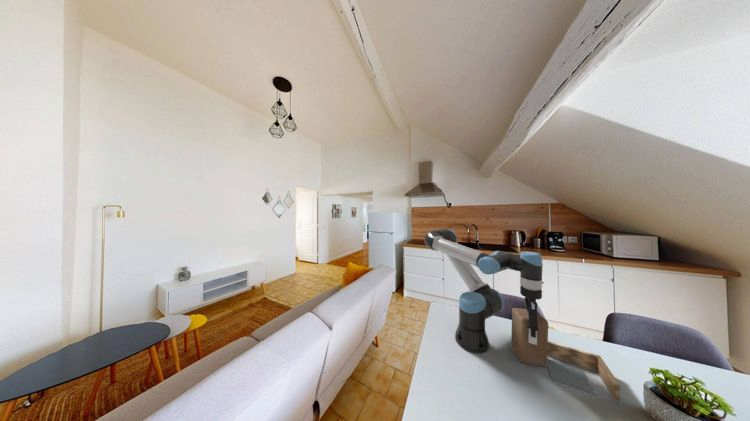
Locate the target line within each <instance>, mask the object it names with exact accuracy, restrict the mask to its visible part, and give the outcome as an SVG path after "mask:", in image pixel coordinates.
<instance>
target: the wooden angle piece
mask: <svg viewBox="0 0 750 421" xmlns="http://www.w3.org/2000/svg"><path fill="white" fill-rule="evenodd" d="M547 357H552V358H555V359H558V360H561V361H565V362H568V363H570V364H573V365H578V366H580V367H583V368H587V369H590V370H593V371H596V373H597V374H598V375H599V377H600V378H601V380H602V382H603V384H604V386H605V388H606V389H607V390H608V392H609V394H610V396H611V397H612V399H613V400H614V401H617V402H620V393H621V392H620V391H621V390H620V388H621V384H620V383H619V382H618V380H617V379H616V377H615V376H614V374H613V373H612V371H611V369H609V367H608V366H607V364H606V362H605V361H604V359H603V358H602V357H601V355H598V354H595V353H591V352H587V351H585V350H580V349H577V348H573V347H569V346H566V345H563V344H559V343H556V342H552V341H549V340H548V349H547Z"/></svg>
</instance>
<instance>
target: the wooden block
mask: <svg viewBox="0 0 750 421" xmlns="http://www.w3.org/2000/svg"><path fill="white" fill-rule="evenodd" d="M537 319H538V331H537V345H535V344H531V343H529V342H528V338H529V328H527V326H529V315H528V311H527V309H525V308H520V307H513V308H511V337H510V338H511V341H510V343H511V345H510V346H511V347H510V348H511V349H512V351H513V353H514V354H515V355H516V356H517V358H518V359H519V362H521V363H522V364H525V365H531V366H532V365H533V366H538V367H547V359H548V355H547V349H548V341H549V322H548V320H547V319H546V318H544V317H543V316H542V315H541V314H540V313H539V312H538V311H537Z"/></svg>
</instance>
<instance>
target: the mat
mask: <svg viewBox="0 0 750 421" xmlns="http://www.w3.org/2000/svg"><path fill="white" fill-rule="evenodd" d="M546 367H547V369H548V373H549V377H550V380H553V381H556V382H558V383H560V384H561V383H562V384H564V385H567V386H570V387H572V388H575V389H578V390H581V391H584V392H586V393H588V394H593V395H594V396H596V393H595V391H594V388H593V386H592V385H591V383H590V381H589V379H588V377H587V375H586V374H585V371H584V369H581V368H578V367H574V366H571V365H569V364H566V363H562V362H559V361H557V360H553V359H549V358H547V366H546Z"/></svg>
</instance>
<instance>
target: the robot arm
mask: <svg viewBox="0 0 750 421" xmlns="http://www.w3.org/2000/svg"><path fill="white" fill-rule="evenodd" d="M423 241H424V244H425V246H426V247H427V248H428V249H430V250H432V251H434V252H437V253H438V252H441V253H442V254H445V255H446V256H447V257H448V260H449V261H450V262H451V264H452V266H453V268H455V270H456V272H457V273H458V275H459V276H460V278H461V280H462V281H463V282H464V284H465V285H466V287H467V288H468V289H469V290H468V291H466V292H463V293H462V294H461V295H460V296H459V302H458V306H459V307H458V309H459V311H458V321H459V322H458V326H457V327H456V330H455V332H454V333H455V334H454V336H455V338H454V340H455V342H456V343H457V344H458V345H459V346H460V347H461V348H462V349H464V350H465V351H468V352H471V353H473V354H484V353H485V354H486V353H487V352H488V351H489V350H490V341H489V338H488V335H487V332H486V320H487V319H489V318H491V317H493V316H495V315H497V314H499V313H500V312H502V311H503V310H504V307H505V301H504V298H503V295H502V294H501V293H500V292H499V291H498V290H496V289H494V288H491V285H489V284H488V283H487V282H486V283H485V282H484V281H483V280H482V278H480V276H479V274H478V273H477V271H476V270H475V269H474V267H477V268H478V269H479V271H481V273H483V274H485V275H495V274H497V273H500V272H502V271H505V270H511V271H516V272H519V273H520V275H519V276H520V277H519V281H520V282H519V283H520V284H519V285H520V286H519V287H520V295H521V296H523V297H524V304H523V307H524V308H523V309H527V311H528V315H529V326H527V328H529V338H528V342H529V343H531V344H535V345H537V331H538V319H537V312H538V302H537V300H541V299H542V298H543V291H542V289H543V285H544V284H545V283H544V281H543V265H544V264H543V257H542V255H541V254H540V253H538V252H534V251H521V252H520V254H515V253H512V252H511V253H510V252H507V251H506V252H505V251H502V250H501V251H500V250H496V251H494V252H492V253H491V254H490V253H488V254H487V253H486V252H482V251H480V250H477V249H474V248H471V247H468V246H465V245H462V244H461V243H458V236H457V234H456V233H455V231H453V230H452V229H449V228H441V229H432V230H429V231H427V233H426V234H425V235H424V238H423ZM473 266H474V267H473Z"/></svg>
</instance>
